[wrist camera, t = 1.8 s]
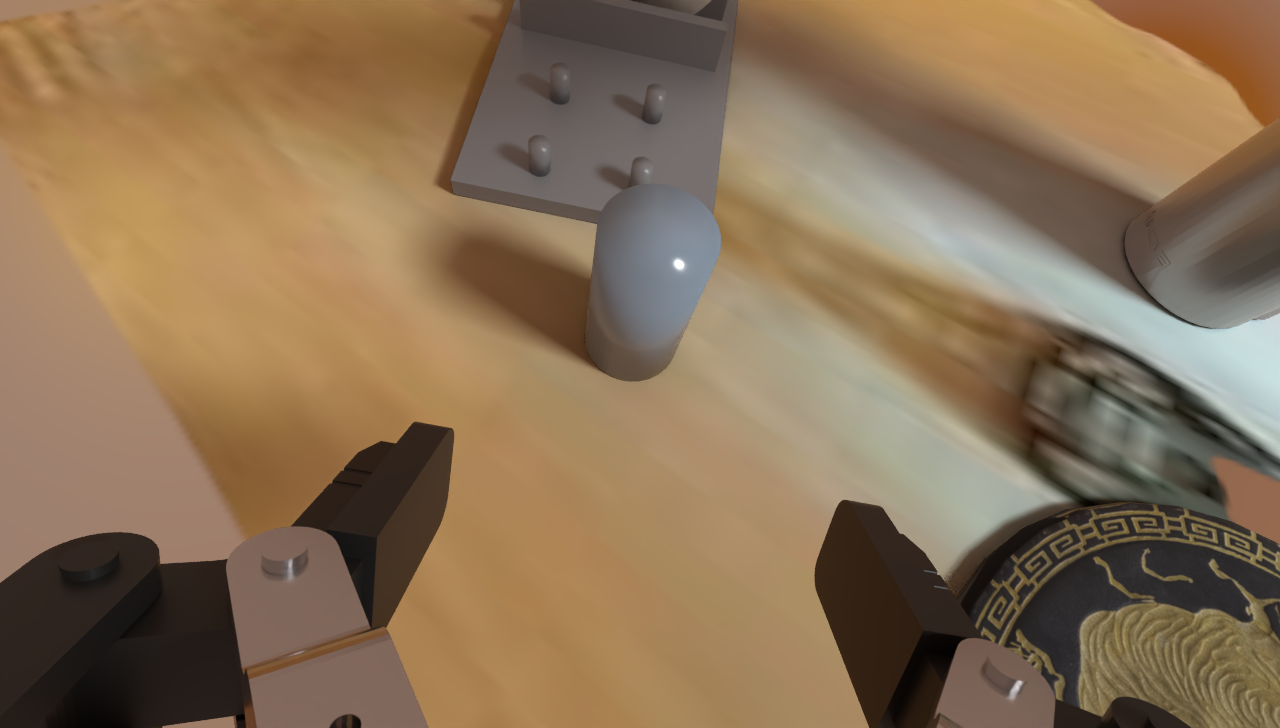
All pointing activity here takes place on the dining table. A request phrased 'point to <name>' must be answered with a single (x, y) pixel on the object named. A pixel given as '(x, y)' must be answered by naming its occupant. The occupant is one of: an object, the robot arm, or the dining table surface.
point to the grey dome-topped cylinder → (647, 278)
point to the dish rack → (600, 104)
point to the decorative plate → (1140, 611)
